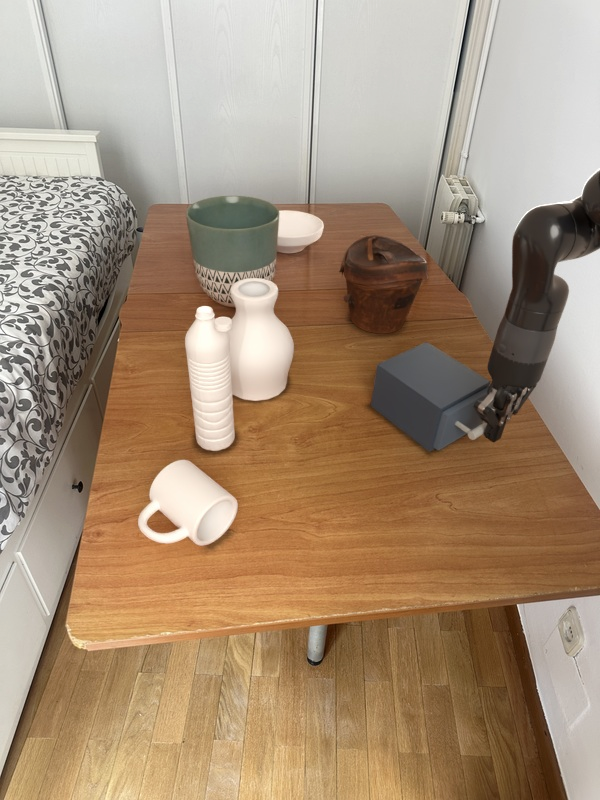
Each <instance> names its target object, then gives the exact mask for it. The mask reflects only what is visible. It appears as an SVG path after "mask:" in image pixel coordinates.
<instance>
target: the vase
mask: <svg viewBox="0 0 600 800" xmlns="http://www.w3.org/2000/svg"><path fill="white" fill-rule="evenodd" d="M231 296H232V299H233V302H234V304H235V307H234V308H235V314H234V315H233V317H232V318H230V319H231V320H232V329H231V330H229V331H227V333H228V336H229V342H230V365H231V381H232V396H235V397H237V398H239V399H242V400H245V401H246V400H247V401H252V402H253V401H254V402H258V401H266V400H270V399H272V398H275V397H277V396H279V395H280V394H281V393H282V392H283V391H284V390H285V389H286V387H287V384H288V377H289V376H288V375H289V372H290V368H291V365H292V362H293V358H294V354H295V344H294V339H293V336H292V334H291V332H290V330H289V328H288V327H287V325H286V324H284V322H283V321H281V320H280V319H279V318H278V316H277V315H276V314H275V304H276V302H277V299H278V296H279V288H278V285H277V284H276V283H274V281H273V282H272V281H269V280H266V279H261V278H247V279H243V280H239V281H237V282H236V283H234V284H233V285H232V287H231ZM225 330H226V329H225Z"/></svg>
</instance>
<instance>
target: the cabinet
mask: <svg viewBox="0 0 600 800" xmlns="http://www.w3.org/2000/svg"><path fill="white" fill-rule="evenodd" d="M491 382H492V380H491V381H490V379H487V378H486V377H484V376H483V375H481V374H479V373H478V372H476V371H475V370H473V369H471V368H470V367H468V366H467V365H465V364H464V363H462V362H460V361H458V360H456V358H454V357H452V356H451V355H449V354H447V353H445V352H444V351H442V350H441V349H438V348H437V347H435V346H434V345H432V344H431V343H429V342H427V341H426V342H423V343H421V344H419V345H417V346H415V347H412V348H410V349H408V350H406V351H404V352H401V353H399V354H397V355H395V356H393V357H390V358H388V359H386V360H383V361H381V362H379V363H377V364H376V370H375V375H374V383H373V388H372V394H371V401H370V407H371V408H372V409H374V410H375V411H376V412H377V413H379V414H380V415H381V416H383V418H385V419H386V420H388V421H389V422H390V423H392V424H393V425H394V426H395V427H397V428H398V429H399V430H401V431H402V432H403V433H404V434H406V435H407V436H408V437H409V438H411V439H412V440H413V441H415V442H416V443H417V444H418V445H420V446H421V447H422V448H424V449H425V450H427V452H429V453H430V452H432V451H433V450H436V449H435V448H434V447H433V445H434V441H435V438H436V434H437V430H438V426H439V423H440V419H441V415H442V412H443V411H444V410H445V409H447V408H449V407H451V406H453V405H454V404H456V403H458V402H460V401H462V400H463V399H465V398H467V397H469V396H471V395H473V394H474V393H475V394H476V393H477V392H479V391H481V390H483V389H485V388H486V387H488V388H489V386H490V384H491Z"/></svg>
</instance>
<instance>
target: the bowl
mask: <svg viewBox="0 0 600 800" xmlns="http://www.w3.org/2000/svg"><path fill="white" fill-rule="evenodd" d="M279 213H280V215H279V231H278V246H277V253H283V254H295V253H300V252H302V251H303V250H305V248H307V247H308V246H310V245H311V244H313V243H315V242H316V241H319V240H320V239H321V237H322V235H323V233H324V227H325V224H324V222H323V220H322V219H320V218H319V217H318V216H316V215H314V214H311V213H308V212H305V211H299V210H285V209H284V210H279Z"/></svg>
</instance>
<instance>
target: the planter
mask: <svg viewBox="0 0 600 800" xmlns="http://www.w3.org/2000/svg"><path fill="white" fill-rule="evenodd" d="M279 211H280V209H279V208H278V207H277V206H276V205H275V204H273V203H272V202H270V201H267V200H264V199H262V198H258V197H253V196H247V195H219V196H213V197H208V198H204V199H200V200H198V201H196V202H194V203H192V204H190V205H189V206H188V207H187V208H186V211H185V217H186V225H187V230H188V231H187V232H188V237H189V244H190V251H191V257H192V262H193V269H194V272H195V273H194V274H195V276H196V279H197V282H198V284H199V286H200V287H201V289H202V291H203V292H204V294H206V296H208V298H210V299H211V300H212V301H213V302H215V303H218V304H219V305H221V306H223V307H229V308H236V307H235V304H234V302H233V299H232V296H231V287H232V285H233V284H234V283H236V282H237V281H239V280H243V279H247V278H261V279H266V280H269V281H272V282H273V283H274V278H275V275H276V269H277V260H278V259H277V258H278V251H277V246H278V231H279V215H280V213H279Z"/></svg>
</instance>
